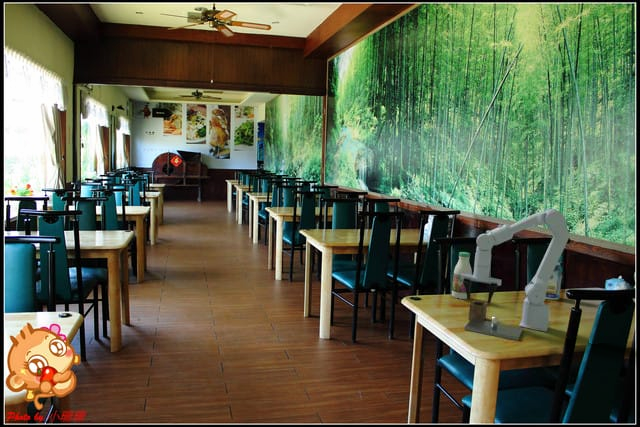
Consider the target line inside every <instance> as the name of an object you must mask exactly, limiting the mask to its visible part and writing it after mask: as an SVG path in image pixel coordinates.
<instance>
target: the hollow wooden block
mask: <svg viewBox="0 0 640 427" xmlns="http://www.w3.org/2000/svg"><path fill="white" fill-rule="evenodd" d="M487 308H488V302H485V301H484V302H483V301H478V300H472V302H470V304H469V311H468V321H470V320H471V319H478V320H483V321H485V319H486V317H487Z"/></svg>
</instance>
